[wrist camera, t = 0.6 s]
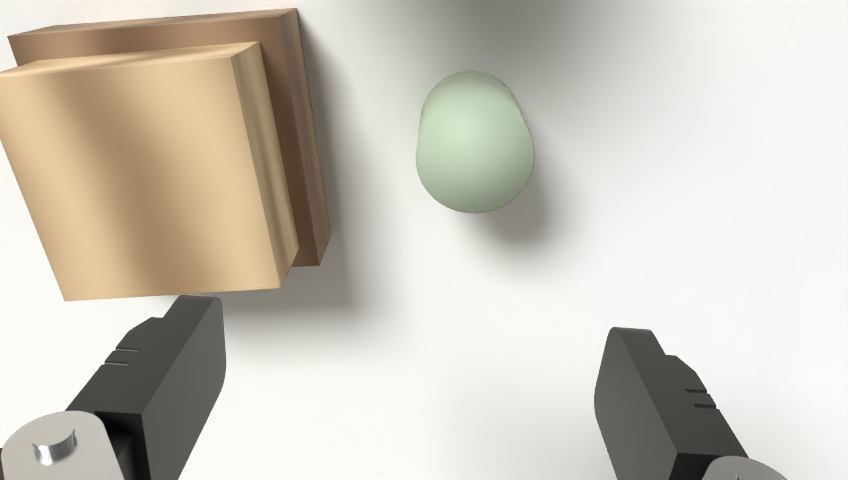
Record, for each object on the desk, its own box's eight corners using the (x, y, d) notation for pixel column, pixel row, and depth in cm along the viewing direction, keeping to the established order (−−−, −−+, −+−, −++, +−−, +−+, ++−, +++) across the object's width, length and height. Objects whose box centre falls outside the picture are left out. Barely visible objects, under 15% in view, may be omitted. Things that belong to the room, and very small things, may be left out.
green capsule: (518, 68, 30) (534, 96, 25) (519, 165, 33) (534, 210, 27) (417, 74, 31) (411, 104, 25) (424, 170, 33) (420, 216, 27)
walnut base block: (298, 7, 30) (278, 16, 26) (332, 231, 35) (319, 265, 32) (58, 24, 31) (7, 36, 27) (126, 242, 36) (91, 276, 32)
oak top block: (259, 41, 27) (230, 57, 23) (299, 247, 31) (280, 288, 28) (37, 60, 27) (-24, 79, 24) (107, 260, 32) (64, 301, 28)
